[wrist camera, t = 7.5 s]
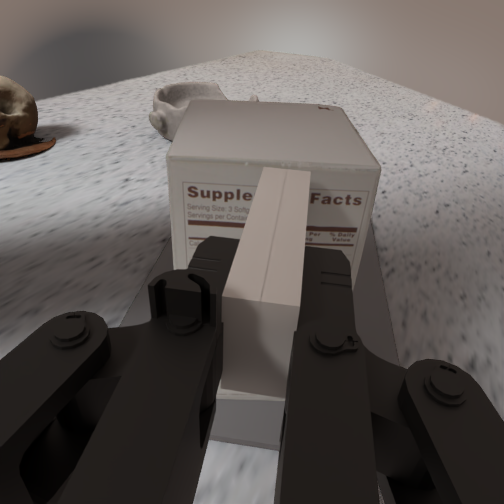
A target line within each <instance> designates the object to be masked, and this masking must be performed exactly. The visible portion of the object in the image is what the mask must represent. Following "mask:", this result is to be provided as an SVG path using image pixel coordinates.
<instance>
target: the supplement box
mask: <svg viewBox="0 0 504 504" xmlns="http://www.w3.org/2000/svg"><path fill="white" fill-rule="evenodd" d="M166 163H167V176H168V190H169V205H170V218H171V232H172V249H173V266H174V270H176V269H188V265H189V263H190V261H191V259H192V256H193V254H194V252H195V250H196V248H197V246H198V244H200V243H201V242H202V241H204V240H205V239H206V238H208V237H209V236H218V237H226V238H234V239H241V236H242V233H243V230H244V226H245V223H246V220H247V217H248V214H249V211H250V208H251V205H252V202H253V199H254V196H255V193H256V190H257V187H258V183H259V180H260V177H261V174H262V171H263V168H264V167H272V168H281V169H291V170H301V171H310V172H311V175H310V187H309V200H308V213H307V225H306V238H305V246H311V247H319V248H328V249H336V250H342V252H343V253H344V255H345V256H346V257H347V259H348V260H349V261H350V266H351V278H352V290H353V289H354V285H355V281H356V277H357V273H358V269H359V265H360V261H361V257H362V252H363V248H364V244H365V240H366V236H367V232H368V227H369V223H370V219H371V215H372V210H373V206H374V201H375V197H376V192H377V187H378V183H379V178H380V173H381V166H380V164H379V163H378V161H377V159H376V158H375V157H374V155H373V154H372V153H371V151H370V149H369V148H368V146H367V145H366V143H365V142H364V141H363V139H362V138H361V136H360V135H359V132H358V131H357V130H356V129H355V127H354V126H353V124H352V123H351V121H350V120H349V118H348V117H347V115H346V114H345V112H344V110H343V109H342V108H340V107H336V106H329V105H320V104H302V103H279V102H255V101H231V100H211V99H193V100H190V102H189V104H188V107H187V109H186V111H185V113H184V116H183V118H182V120H181V123H180V125H179V127H178V130H177V132H176V134H175V137H174V139H173V141H172V144H171V146H170V148H169V151H168V153H167V155H166ZM216 399H234V400H269V401H285V399H284V398H278V397H271V396H265V395H258V394H252V393H245V392H239V391H233V390H226V389H221V379H220V383H219V387H218V390H217V394H216Z"/></svg>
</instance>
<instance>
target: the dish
mask: <svg viewBox="0 0 504 504" xmlns="http://www.w3.org/2000/svg"><path fill="white" fill-rule="evenodd" d="M193 99H211V100H228V99H227V98H226V97H225V96H224V94H223V93H222V92H221V90H220V88H219V86H218V84H215V83H208V82H185V83H176V84H170V85H166V86H164V87H163V88H162V89H161V88H160V89H158V90H157V91H156V92H155V95H154V99H153V111H152V112H150V114H149V120H150V122H151V125H152V126H153V127H154V128H155V129H156V130H158V132H159V133H160V134H161V135H162V136H163V137H164V138H167V139H169V140H171V141H173V139H174V137H175V134H176V132H177V130H178V127H179V125H180V123H181V120H182V118H183V116H184V113H185V111H186V109H187V107H188V104H189V102H190V100H193ZM249 101H255V102H259V100H258V97H257V96H256V95H252V96H251V98H250V99H249Z"/></svg>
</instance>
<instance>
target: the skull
mask: <svg viewBox="0 0 504 504" xmlns="http://www.w3.org/2000/svg"><path fill="white" fill-rule="evenodd" d="M37 124H38V111H37V106H36V103H35V100H34V98H33V96H32V95H31V94H30V93H29V92H28V91H27V90H25V89H24V88H23V87H22V86H20V85H19V84H17V83H16V82H14V81H12V80H10V79H8V78H6V77H3V76H0V159H1V158H10V157H16V158H17V157H18V158H19V156H20V157H24V156H25V155H28V154H31V155H32V153H34V154H35V153H37V152H41V151H43V150H45V149H46V150H47V149H49V148H51V146H52V145H54V144H55V142H56V139H55V138H53V139H52V140H51V141H48V142H39V141H42V140H43V139H44V138H42V139H40V138H36V137H34V132H35V130H36V128H37ZM22 155H24V156H22ZM25 157H26V156H25ZM3 160H5V159H3ZM7 160H10V159H7Z"/></svg>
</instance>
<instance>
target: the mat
mask: <svg viewBox="0 0 504 504" xmlns="http://www.w3.org/2000/svg"><path fill="white" fill-rule="evenodd" d="M172 270H174V266H173V249H172V236H171V237H170V239H169V241H168V243H167V244H166V246H165V248H164V250H163V251H162V253H161V255H160V256H159V258H158V260H157V262H156V263H155V265H154V267H153V269H152V270H151V272H150V274H149V275H148V277H147V279H146V281H145V282H144V284H143V286H142V288H141V289H140V291H139V293H138V295H137V296H136V298H135V300H134V301H133V303H132V305H131V307H130V308H129V310H128V312H127V314H126V315H125V317H124V319H123V320H122V322H121V324H120V326H119V327H125V326H133V325H139V324H143V323H146V322H148V321H150V319H151V312H150V303H149V294H148V284H149V283H150V282H151V281H152V280H153V279H154V278H155V277H157V276H159V275H161V274H162V273H164V272H168V271H172ZM353 302H354V314H355V326H356V332H357V334H358V335H359V336H360V338H361V340H362V343H363V345H364V346H365V347H366V348H367V349H368V350H369V351H371V352H372V353H373V354H375V355H376V356H378V357H380V358H382V359H384V360H386V361H388V362H390V363H393V364H395V365H398V366H400V365H399V360H398V355H397V350H396V345H395V340H394V335H393V330H392V325H391V320H390V315H389V310H388V305H387V300H386V295H385V290H384V285H383V280H382V275H381V270H380V265H379V260H378V255H377V250H376V245H375V240H374V234H373V229H372V224H371V219H370V223H369V227H368V232H367V236H366V240H365V244H364V248H363V252H362V257H361V261H360V265H359V269H358V273H357V277H356V281H355V285H354V289H353ZM284 406H285V401H269V400H234V399H216V413H215V417H214V421H213V425H212V429H211V433H210V437H209V440H215V441H221V442H227V443H233V444H240V445H246V446H252V447H258V448H265V449H271V450H277V451H279V448H280V442H279V440H280V433H281V426H282V420H283V413H284Z"/></svg>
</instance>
